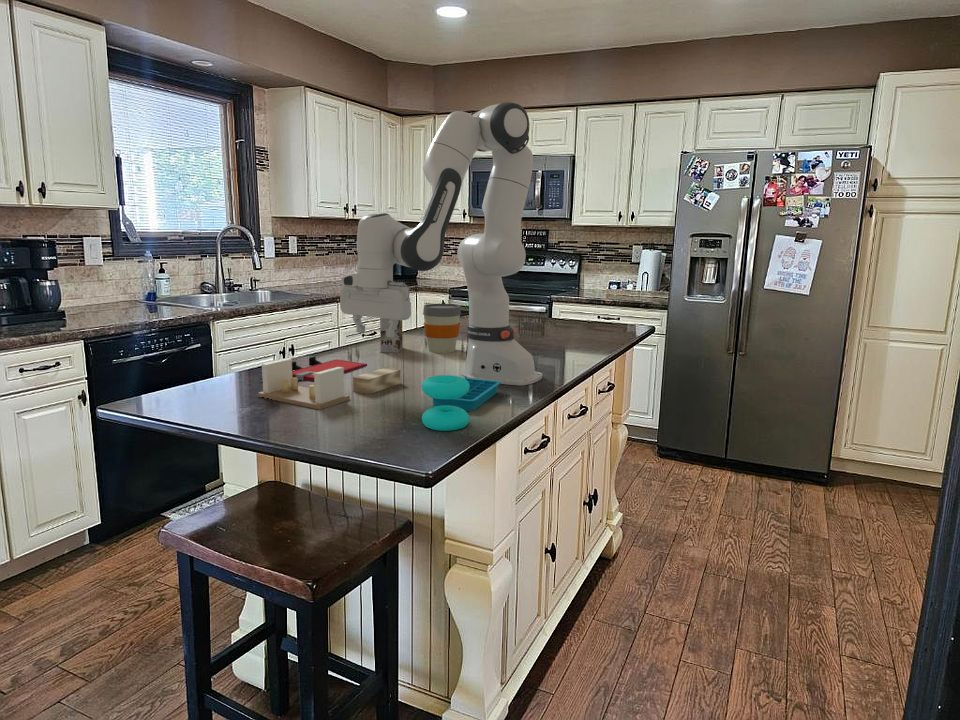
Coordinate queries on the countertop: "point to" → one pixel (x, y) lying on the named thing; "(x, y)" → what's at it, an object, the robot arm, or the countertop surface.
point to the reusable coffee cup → (441, 326)
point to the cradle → (287, 390)
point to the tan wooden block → (376, 380)
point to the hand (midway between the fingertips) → (375, 334)
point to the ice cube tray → (472, 395)
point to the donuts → (445, 414)
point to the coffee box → (390, 343)
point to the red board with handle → (322, 368)
